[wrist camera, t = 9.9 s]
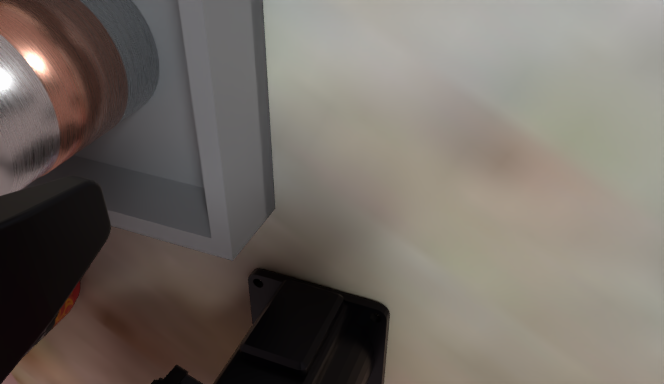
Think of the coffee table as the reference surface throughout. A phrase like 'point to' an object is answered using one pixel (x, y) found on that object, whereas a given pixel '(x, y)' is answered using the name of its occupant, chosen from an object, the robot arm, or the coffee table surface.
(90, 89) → the steel tin
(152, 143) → the tote
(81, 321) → the coffee table surface
